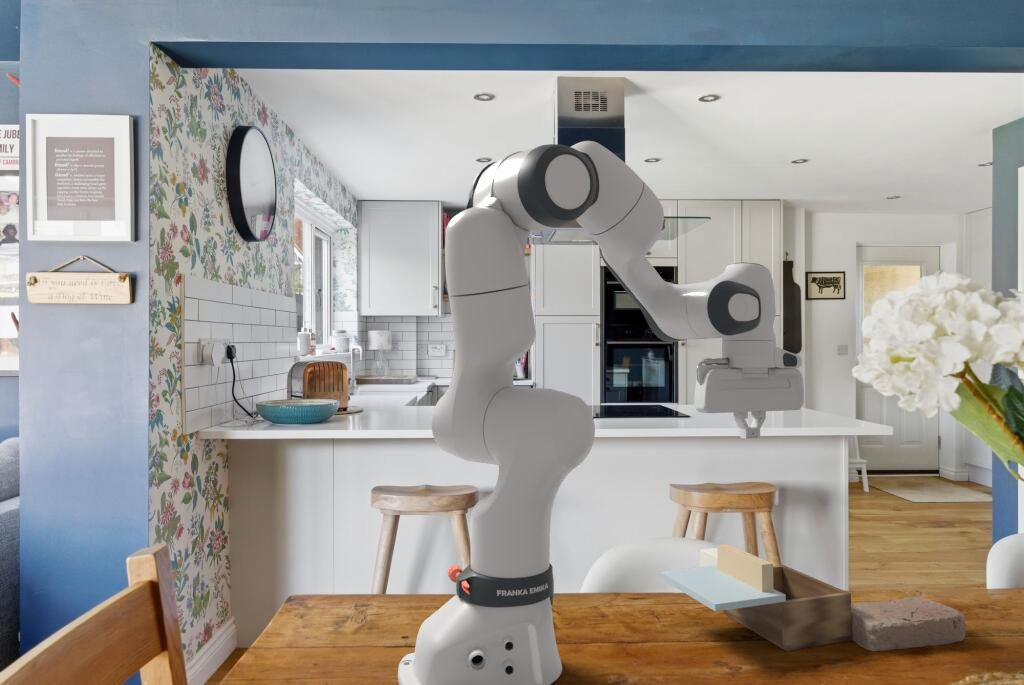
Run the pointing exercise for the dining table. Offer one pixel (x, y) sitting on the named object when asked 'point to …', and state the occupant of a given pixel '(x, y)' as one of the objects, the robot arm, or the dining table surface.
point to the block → (708, 557)
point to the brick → (905, 624)
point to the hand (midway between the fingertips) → (749, 438)
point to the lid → (728, 581)
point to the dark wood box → (800, 612)
